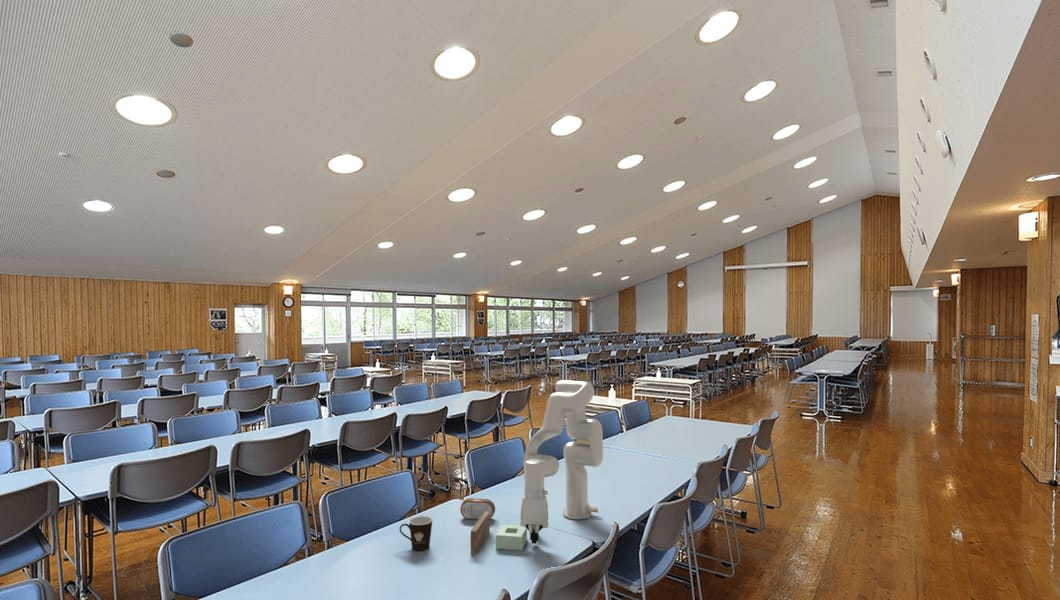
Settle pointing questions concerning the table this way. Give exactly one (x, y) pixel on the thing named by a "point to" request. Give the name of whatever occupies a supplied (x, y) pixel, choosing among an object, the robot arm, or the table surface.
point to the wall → (480, 532)
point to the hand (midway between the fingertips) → (534, 542)
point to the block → (511, 537)
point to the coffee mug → (419, 532)
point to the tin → (476, 508)
